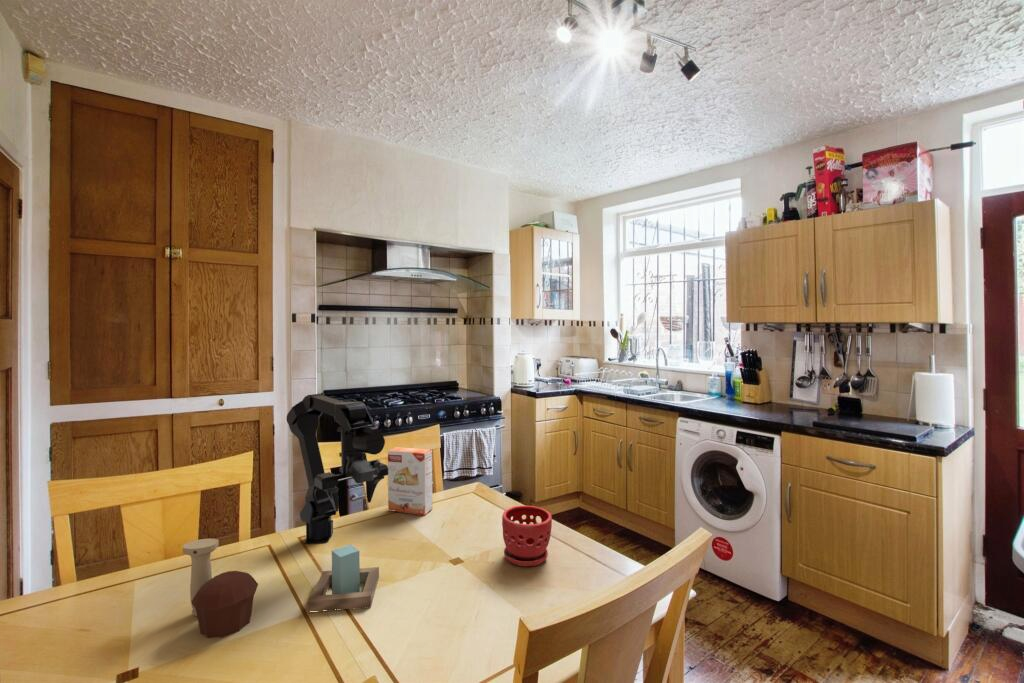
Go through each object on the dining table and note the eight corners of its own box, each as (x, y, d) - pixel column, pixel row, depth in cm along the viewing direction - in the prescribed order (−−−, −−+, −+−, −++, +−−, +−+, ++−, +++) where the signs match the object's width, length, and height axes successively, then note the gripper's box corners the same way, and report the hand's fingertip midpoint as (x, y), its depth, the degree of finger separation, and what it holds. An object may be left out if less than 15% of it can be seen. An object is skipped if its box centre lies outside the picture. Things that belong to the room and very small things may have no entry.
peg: (332, 594, 107) (331, 550, 107) (350, 586, 110) (350, 544, 110) (340, 601, 104) (340, 557, 103) (359, 593, 107) (359, 550, 107)
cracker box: (387, 512, 157) (386, 450, 157) (396, 505, 163) (396, 446, 162) (424, 516, 153) (424, 452, 153) (433, 509, 159) (432, 448, 158)
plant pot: (496, 568, 118) (496, 521, 118) (509, 545, 131) (509, 503, 131) (547, 574, 115) (547, 525, 115) (555, 550, 128) (555, 506, 128)
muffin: (240, 602, 103) (239, 557, 103) (269, 617, 98) (269, 570, 98) (180, 631, 93) (179, 582, 93) (209, 650, 88) (209, 597, 88)
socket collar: (307, 613, 99) (307, 601, 99) (323, 581, 112) (323, 571, 112) (370, 607, 101) (370, 596, 101) (379, 577, 114) (378, 567, 114)
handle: (212, 618, 98) (211, 547, 97) (179, 621, 97) (178, 549, 97) (223, 605, 102) (222, 537, 102) (191, 608, 101) (190, 539, 101)
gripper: (331, 461, 114) (331, 525, 114) (398, 448, 127) (399, 505, 127) (313, 453, 122) (313, 513, 122) (378, 441, 135) (379, 495, 135)
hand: (353, 506), depth 126 cm, fingers open, 9 cm apart
